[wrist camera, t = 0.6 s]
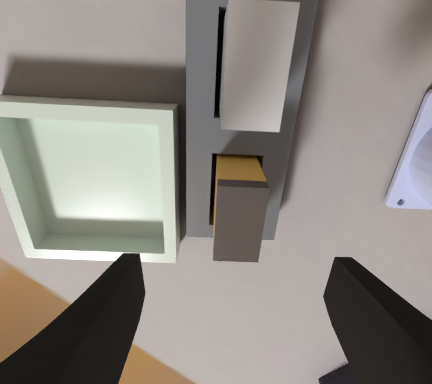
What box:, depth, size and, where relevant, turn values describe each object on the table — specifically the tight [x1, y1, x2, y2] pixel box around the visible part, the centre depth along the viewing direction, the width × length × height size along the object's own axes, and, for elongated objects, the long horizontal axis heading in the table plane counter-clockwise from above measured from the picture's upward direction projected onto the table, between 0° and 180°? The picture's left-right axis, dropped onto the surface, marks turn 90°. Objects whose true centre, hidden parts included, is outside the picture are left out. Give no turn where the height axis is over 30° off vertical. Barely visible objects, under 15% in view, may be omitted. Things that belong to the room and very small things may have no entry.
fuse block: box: [186, 0, 319, 240], centre depth 16 cm, size 6×14×2 cm, turn 177°
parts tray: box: [0, 95, 180, 263], centre depth 17 cm, size 11×11×2 cm
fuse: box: [219, 0, 300, 132], centre depth 12 cm, size 2×4×6 cm, turn 177°
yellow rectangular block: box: [213, 153, 270, 262], centre depth 16 cm, size 2×4×6 cm, turn 177°
